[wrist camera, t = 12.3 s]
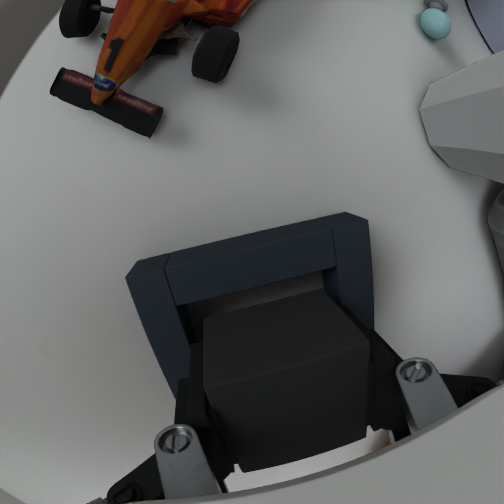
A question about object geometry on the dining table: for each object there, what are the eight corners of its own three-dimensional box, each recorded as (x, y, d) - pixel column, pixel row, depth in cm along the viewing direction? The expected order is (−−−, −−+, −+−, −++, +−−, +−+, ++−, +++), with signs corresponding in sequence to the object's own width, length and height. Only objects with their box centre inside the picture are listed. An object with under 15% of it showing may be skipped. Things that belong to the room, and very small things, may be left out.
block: (232, 403, 12) (242, 474, 8) (203, 317, 11) (202, 387, 7) (331, 376, 13) (367, 437, 9) (322, 287, 11) (371, 340, 7)
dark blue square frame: (198, 415, 14) (198, 442, 12) (136, 260, 12) (124, 277, 10) (357, 373, 15) (372, 395, 13) (346, 211, 12) (368, 219, 11)
